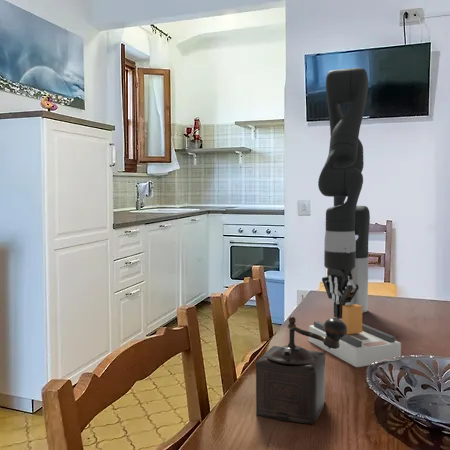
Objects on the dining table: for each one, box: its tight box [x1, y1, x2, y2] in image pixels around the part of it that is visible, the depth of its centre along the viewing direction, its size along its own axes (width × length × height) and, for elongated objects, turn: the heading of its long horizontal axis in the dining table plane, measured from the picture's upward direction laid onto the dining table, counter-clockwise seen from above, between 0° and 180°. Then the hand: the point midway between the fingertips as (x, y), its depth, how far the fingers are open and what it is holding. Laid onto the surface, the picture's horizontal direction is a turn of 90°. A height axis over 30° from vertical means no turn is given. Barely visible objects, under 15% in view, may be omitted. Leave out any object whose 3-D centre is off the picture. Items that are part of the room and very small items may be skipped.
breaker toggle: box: [341, 304, 363, 334], centre depth 118 cm, size 2×4×6 cm, turn 111°
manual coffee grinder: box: [255, 315, 347, 425], centre depth 86 cm, size 16×11×18 cm
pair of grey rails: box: [313, 320, 396, 348], centre depth 118 cm, size 18×10×1 cm, turn 21°
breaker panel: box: [308, 324, 402, 368], centre depth 119 cm, size 20×12×4 cm, turn 21°
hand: (339, 317), depth 123 cm, fingers closed
